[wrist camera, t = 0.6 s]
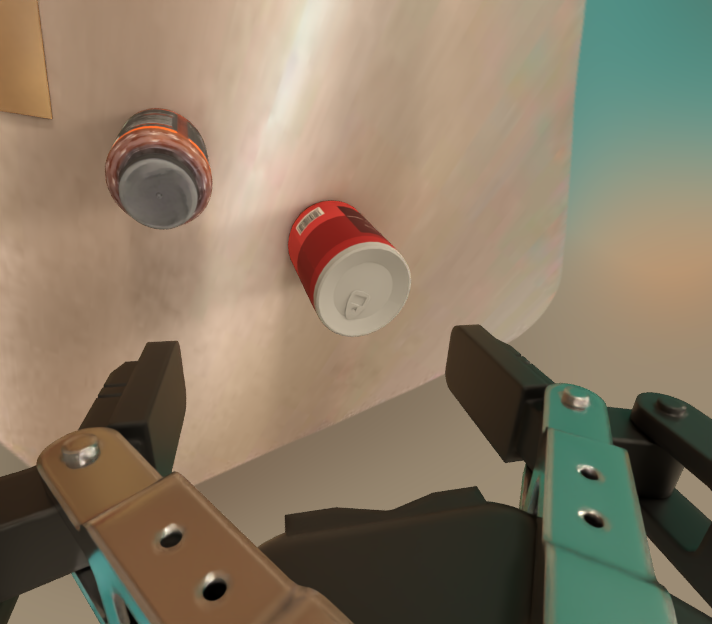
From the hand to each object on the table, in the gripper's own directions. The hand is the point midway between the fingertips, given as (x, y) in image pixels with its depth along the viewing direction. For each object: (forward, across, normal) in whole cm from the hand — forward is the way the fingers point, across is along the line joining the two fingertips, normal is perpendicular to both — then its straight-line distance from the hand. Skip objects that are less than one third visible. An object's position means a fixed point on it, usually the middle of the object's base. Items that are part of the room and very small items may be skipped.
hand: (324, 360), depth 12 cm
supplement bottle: (+26, +8, -4) cm, 28 cm away
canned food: (+29, -5, +3) cm, 29 cm away
